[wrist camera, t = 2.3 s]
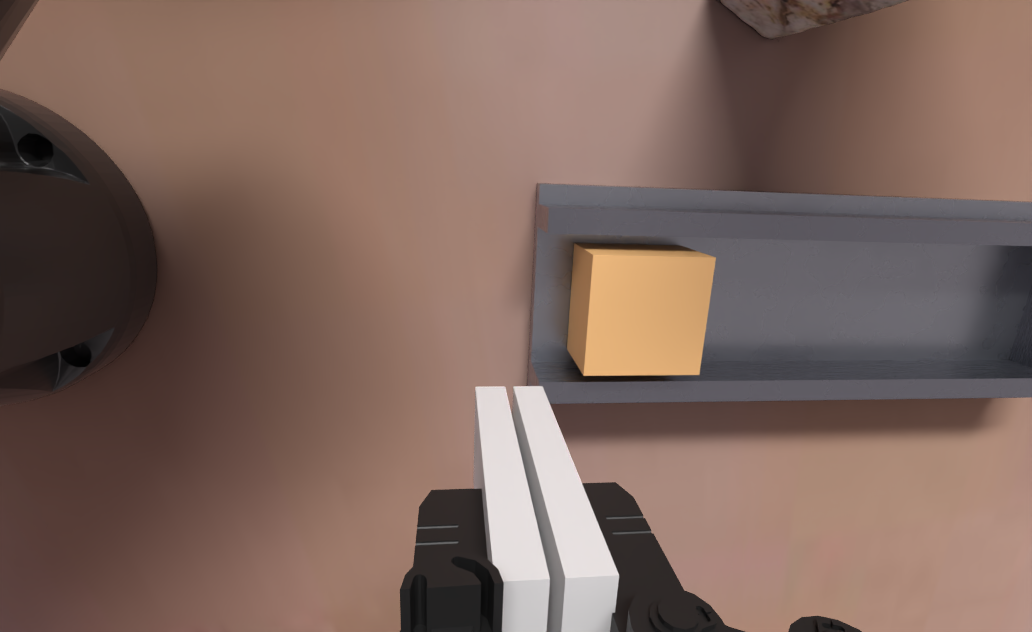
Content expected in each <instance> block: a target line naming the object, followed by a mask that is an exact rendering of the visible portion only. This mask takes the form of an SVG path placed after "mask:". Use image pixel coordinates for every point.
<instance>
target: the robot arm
mask: <svg viewBox="0 0 1032 632" xmlns="http://www.w3.org/2000/svg"><path fill="white" fill-rule="evenodd" d="M38 1H39V0H0V60H1V59H2V57H3V56H4V54H5V52H6V51H7V49H8V48H9V46H10V45H11V43H12V41H13V40H14V38H15V37H16V35H17V34H18V32H19V30H20V29H21V27H22V26H23V24H24V23H25V21H26V19H27V18H28V16H29V15H30V13H31V12H32V10H33V8H34V7H35V5H36V4H37V2H38ZM156 278H157V260H156V251H155V245H154V240H153V236H152V232H151V228H150V225H149V223H148V220H147V217H146V214H145V212H144V210H143V207H142V205H141V203H140V201H139V199H138V197H137V195H136V194H135V192H134V190H133V189H132V187H131V185H130V184H129V182H128V181H127V179H126V178H125V176H124V175H123V174H122V172H121V171H120V170H119V168H118V167H117V166H116V165H115V163H114V162H113V161H112V160H111V159H110V158H109V157H108V155H107V154H106V153H105V152H104V151H103V150H102V149H101V148H100V147H99V146H98V145H97V144H96V143H95V142H94V141H92V140H91V139H90V138H89V137H88V136H87V135H86V134H84V133H83V132H82V131H81V130H79V129H78V128H77V127H75V126H74V125H73V124H71V123H70V122H68V121H67V120H65V119H64V118H62V117H61V116H59V115H58V114H56V113H54V112H53V111H51V110H49V109H47V108H46V107H44V106H42V105H40V104H38V103H36V102H34V101H31V100H29V99H27V98H25V97H22V96H20V95H17V94H14V93H12V92H9V91H6V90H2V89H0V406H4V405H10V404H16V403H22V402H27V401H31V400H35V399H38V398H41V397H44V396H47V395H50V394H53V393H56V392H58V391H60V390H63V389H65V388H67V387H69V386H71V385H73V384H75V383H77V382H78V381H80V380H82V379H84V378H86V377H87V376H89V375H91V374H93V373H94V372H96V371H98V370H100V369H101V368H103V367H104V366H106V365H107V364H109V363H110V362H112V361H113V360H114V359H116V358H117V357H118V356H119V355H120V354H121V353H122V352H123V351H124V350H125V349H126V348H127V347H128V346H129V345H130V344H131V343H132V341H133V340H134V339H135V337H136V336H137V335H138V333H139V332H140V330H141V328H142V326H143V325H144V323H145V321H146V319H147V316H148V314H149V311H150V308H151V305H152V302H153V298H154V294H155V288H156ZM400 608H401V631H400V632H744V631H741V630H738V629H734V628H731V627H728V626H726V625H725V624H724V623H723V621H722V619H721V618H720V617H719V616H718V614H717V613H716V612H715V611H714V610H713V608H712V607H711V606H710V605H709V604H707V603H706V602H705V601H703V600H702V599H700V598H699V597H697V596H696V595H695V594H692V593H689V592H687V591H684V589H683V587H682V586H681V584H680V582H679V580H678V578H677V576H676V575H675V573H674V571H673V569H672V567H671V565H670V563H669V562H668V560H667V558H666V556H665V554H664V552H663V551H662V549H661V547H660V545H659V543H658V541H657V540H656V538H655V536H654V534H652V533H651V529H650V527H649V525H648V523H647V521H646V519H645V518H643V514H642V512H641V510H640V508H639V507H638V505H637V503H636V501H635V499H634V497H633V496H631V495H630V494H629V493H628V492H627V491H625V490H624V489H623V488H622V487H620V486H619V485H618V484H617V483H616V482H612V483H582V482H581V480H580V477H579V475H578V473H577V470H576V468H575V465H574V463H573V460H572V458H571V455H570V453H569V450H568V448H567V445H566V443H565V440H564V438H563V435H562V433H561V431H560V428H559V426H558V423H557V421H556V418H555V416H554V413H553V411H552V408H551V406H550V403H549V401H548V398H547V396H546V394H545V391H544V389H543V386H513V408H512V414H511V410H510V405H509V401H508V397H507V393H506V388H505V386H502V387H475V434H474V489H450V490H431V492H430V493H429V494H428V496H427V497H426V498H425V500H424V501H423V502H422V504H421V505H420V506H419V515H418V525H417V535H416V546H415V554H414V564H413V567H412V568H411V569H410V570H409V572H408V573H407V574H406V575H405V577H404V580H403V583H402V586H401V588H400ZM789 632H862V631H860V630H859V629H856V628H854V627H852V626H850V625H848V624H845V623H843V622H841V621H839V620H835V619H830V618H826V617H821V616H811V617H801V618H800V619H798V620H797V621H795V622H794V623H792V624H791V625H790V629H789Z"/></svg>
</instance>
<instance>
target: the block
mask: <svg viewBox="0 0 1032 632" xmlns="http://www.w3.org/2000/svg"><path fill="white" fill-rule="evenodd" d="M715 261H716V257H713V256H710V255H707V254H704V253H701V252H698V251H695V250H693V249H690V248H687V247H684V246H678V245H636V244H595V243H574V253H573V267H572V282H571V296H570V311H569V325H568V340H567V350H568V352H569V353H570V355H571V356H572V358H573V360H574V361H575V363H576V364H577V366H578V368H579V369H580V371H581V372H582V374H583V376H626V375H699V373H700V366H701V359H702V352H703V345H704V338H705V331H706V324H707V317H708V310H709V303H710V296H711V289H712V282H713V275H714V268H715Z"/></svg>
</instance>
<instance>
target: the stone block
mask: <svg viewBox="0 0 1032 632" xmlns="http://www.w3.org/2000/svg"><path fill="white" fill-rule="evenodd" d="M720 1H721V3H722V4H723V5H725V6H726V7H727V8H729V9H730V10H731V11H733V12H734V13H735V14H736V15H737V16H738V17H739V18H740V19H742V20H743V21H744V22H745V23H747V24H749V25H750V26H752V27H753V28H754V29H755V30H756V31H757V32H758V33H759V34H760V35H761V36H763V37H766V38H769V39H774V38H777V37H784V36H787V35H791V34H795V33H800V32H803V31H806V30H808V29H810V28H813V27H820V26H822V25H827V24H831V23H835V22H838V21H841V20H845V19H848V18H851V17H855V16H860V15H863V14H867V13H871V12H874V11H877V10H879V9H882V8H885V7H890V6H893V5H896V4H899V3H901V2H904V1H908V0H720Z"/></svg>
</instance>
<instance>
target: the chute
mask: <svg viewBox="0 0 1032 632" xmlns="http://www.w3.org/2000/svg"><path fill="white" fill-rule="evenodd" d="M574 243H595V244H636V245H678V246H684V247H687V248H690V249H693V250H695V251H698V252H701V253H704V254H707V255H710V256H713V257H716V261H715V268H714V275H713V282H712V289H711V296H710V303H709V310H708V317H707V324H706V331H705V338H704V345H703V352H702V359H701V366H700V373H699V375H626V376H583V374H582V372H581V371H580V369H579V368H578V366H577V364H576V363H575V361H574V360H573V358H572V356H571V355H570V353H569V352H568V350H567V340H568V325H569V311H570V296H571V282H572V267H573V253H574ZM527 386H543V389H544V391H545V394H546V396H547V398H548V401H549V403H550V404H568V403H643V402H718V401H793V400H868V399H943V398H1017V397H1032V202H1019V201H993V200H966V199H940V198H913V197H887V196H860V195H834V194H807V193H781V192H754V191H728V190H701V189H675V188H648V187H622V186H595V185H569V184H542V183H537V193H536V214H535V234H534V255H533V276H532V296H531V317H530V338H529V358H528V379H527Z"/></svg>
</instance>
